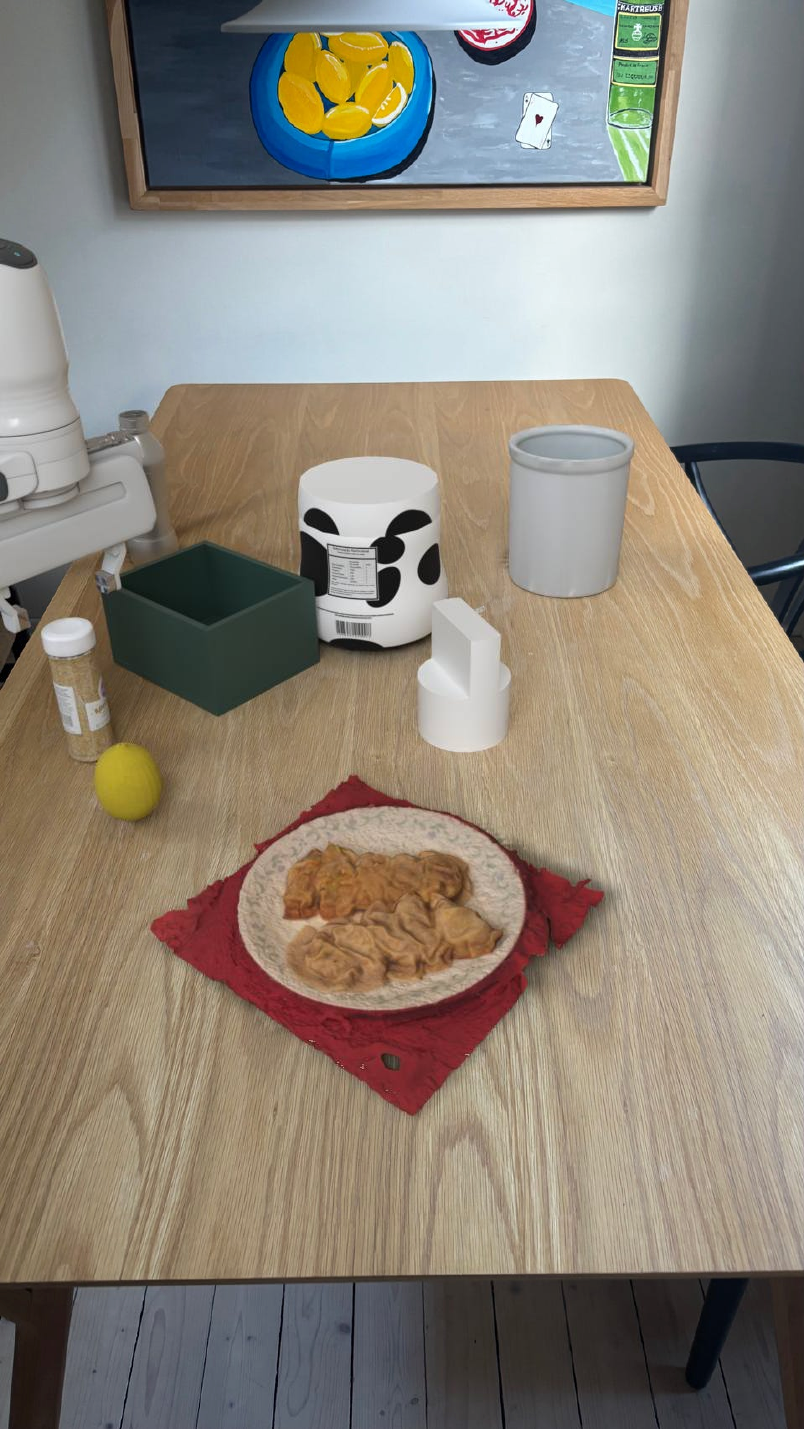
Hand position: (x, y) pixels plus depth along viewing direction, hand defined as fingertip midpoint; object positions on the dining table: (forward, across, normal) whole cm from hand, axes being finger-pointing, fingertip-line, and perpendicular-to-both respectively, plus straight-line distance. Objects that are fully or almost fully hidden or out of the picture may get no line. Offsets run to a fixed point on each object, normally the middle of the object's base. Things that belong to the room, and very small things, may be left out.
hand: (65, 609), depth 91 cm
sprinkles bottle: (+15, 0, 0) cm, 15 cm away
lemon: (+15, +4, +12) cm, 20 cm away
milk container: (+16, -36, +4) cm, 39 cm away
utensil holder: (+16, -62, +13) cm, 65 cm away
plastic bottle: (+15, -31, -30) cm, 46 cm away
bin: (+15, -19, -4) cm, 25 cm away
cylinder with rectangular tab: (+16, -26, +25) cm, 39 cm away
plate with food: (+16, 0, +37) cm, 40 cm away
